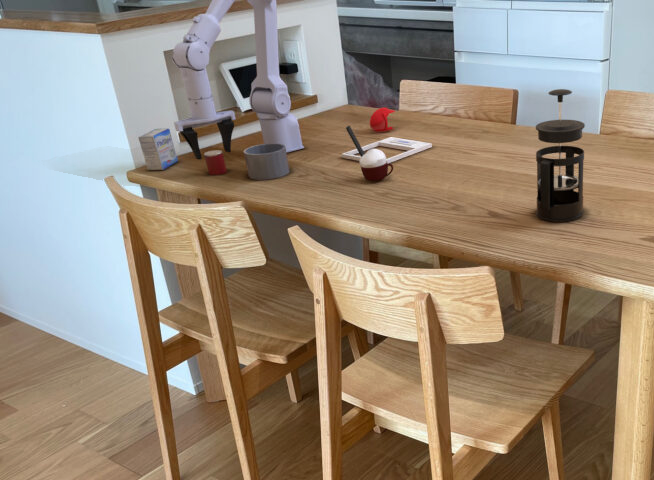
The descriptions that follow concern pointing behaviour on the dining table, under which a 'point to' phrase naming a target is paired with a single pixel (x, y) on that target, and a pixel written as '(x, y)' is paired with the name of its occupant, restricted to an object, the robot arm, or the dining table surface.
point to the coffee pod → (215, 162)
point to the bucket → (266, 161)
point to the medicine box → (158, 149)
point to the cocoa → (371, 161)
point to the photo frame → (392, 143)
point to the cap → (380, 120)
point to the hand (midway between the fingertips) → (213, 155)
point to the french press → (558, 190)
